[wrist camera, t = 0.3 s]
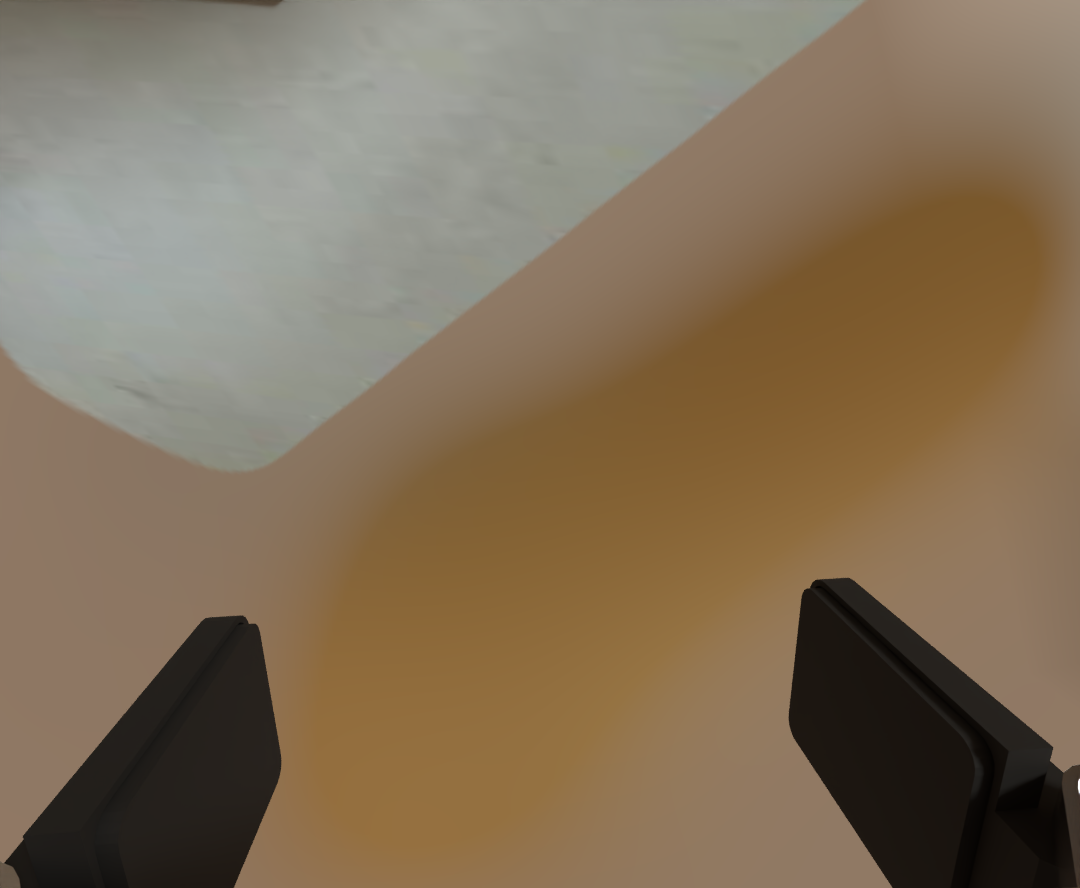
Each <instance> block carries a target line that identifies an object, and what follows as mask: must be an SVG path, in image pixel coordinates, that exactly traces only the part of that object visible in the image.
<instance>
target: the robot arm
mask: <svg viewBox="0 0 1080 888" xmlns="http://www.w3.org/2000/svg"><path fill="white" fill-rule="evenodd" d="M789 725H790V729H791V732H792V735H793V737H794V739H795V740H796V742H797V743H798V745H799V747H800V748H801V750H802V751H803V753H804V754H805V755H806V757H807V759H808V760H809V762H810V763H811V765H812V766H813V768H814V769H815V771H816V772H817V774H818V775H819V777H820V778H821V780H822V781H823V783H824V784H825V786H826V787H827V789H828V790H829V792H830V794H831V795H832V797H833V798H834V800H835V801H836V803H837V804H838V805H839V807H840V809H841V810H842V812H843V813H844V815H845V816H846V818H847V819H848V821H849V822H850V824H851V825H852V827H853V828H854V830H855V831H856V833H857V834H858V836H859V837H860V839H861V841H862V842H863V844H864V845H865V847H866V848H867V849H868V851H869V852H870V854H871V856H872V857H873V859H874V860H875V862H876V863H877V865H878V866H879V868H880V869H881V871H882V872H883V874H884V875H885V877H886V878H887V880H888V881H889V883H890V884H891V886H892V888H1080V765H1075V766H1072V767H1070V768H1069V769H1068V770H1066V771H1065V772H1064V773H1063V772H1062V771H1061V770H1060V769H1058V768H1057V767H1056V766H1055V765H1054V764H1053V763H1052V762H1050V758H1051V755H1052V750H1053V747H1052V746H1051V745H1050V744H1049V743H1047V742H1046V741H1045V740H1044V739H1043V738H1042V737H1040V736H1039V735H1038V734H1037V733H1036V732H1034V731H1033V730H1032V729H1031V728H1030V727H1028V726H1027V725H1026V724H1025V723H1024V722H1022V721H1021V720H1020V719H1019V718H1018V717H1016V716H1015V715H1014V714H1013V713H1012V712H1010V711H1009V710H1008V709H1007V708H1006V707H1004V706H1003V705H1002V704H1001V703H1000V702H998V701H997V700H996V699H995V698H994V697H992V696H991V695H990V694H989V693H987V692H986V691H985V690H984V689H983V688H982V687H980V686H979V685H978V684H977V683H976V682H974V681H973V680H972V679H971V678H970V677H968V676H967V675H966V674H965V673H964V672H962V671H961V670H960V669H959V668H958V667H957V666H955V665H954V664H953V663H952V662H951V661H949V660H948V659H947V658H946V657H945V656H943V655H942V654H941V653H940V652H939V651H937V650H936V649H935V648H934V647H933V646H931V645H930V644H929V643H928V642H927V641H925V640H924V639H923V638H922V637H921V636H919V635H918V634H917V633H916V632H915V631H913V630H912V629H911V628H910V627H908V626H907V625H906V624H905V623H904V622H902V621H901V620H900V619H899V618H898V617H897V616H895V615H894V614H893V613H892V612H891V611H889V610H888V609H887V608H886V607H885V606H883V605H882V604H881V603H880V602H879V601H877V600H876V599H875V598H874V597H873V596H872V595H870V594H869V593H868V592H867V591H865V590H864V589H863V588H862V587H861V586H860V585H858V584H857V583H856V582H855V581H853V580H852V579H850V578H836V579H820V580H815V581H814V582H813V583H812V585H811V587H810V588H809V589H806V590H804V592H803V594H802V599H801V608H800V618H799V626H798V636H797V644H796V654H795V662H794V673H793V681H792V690H791V699H790V708H789ZM280 771H281V754H280V747H279V742H278V735H277V729H276V724H275V718H274V712H273V706H272V700H271V695H270V688H269V683H268V677H267V671H266V665H265V659H264V654H263V647H262V642H261V636H260V631H259V628H258V626H257V625H256V624H249V623H248V621H247V619H246V617H244V616H226V617H212V618H211V617H210V618H205V619H204V620H203V621H202V622H201V623H200V624H199V625H198V626H197V627H196V629H195V630H194V631H193V632H192V633H191V635H190V636H189V637H188V638H187V639H186V641H185V642H184V643H183V644H182V645H181V647H180V648H179V649H178V650H177V652H176V653H175V654H174V655H173V656H172V658H171V659H170V660H169V661H168V662H167V664H166V665H165V666H164V667H163V668H162V670H161V671H160V672H159V673H158V675H157V676H156V677H155V678H154V679H153V680H152V682H151V683H150V684H149V685H148V686H147V688H146V689H145V690H144V691H143V692H142V694H141V695H140V696H139V697H138V698H137V700H136V701H135V702H134V703H133V705H132V706H131V707H130V708H129V709H128V711H127V712H126V713H125V714H124V715H123V716H122V718H121V719H120V720H119V721H118V723H117V724H116V725H115V726H114V727H113V729H112V730H111V731H110V732H109V733H108V735H107V736H106V737H105V738H104V739H103V740H102V742H101V743H100V744H99V746H98V747H97V748H96V749H95V750H94V751H93V753H92V754H91V755H90V756H89V757H88V759H87V760H86V761H85V762H84V763H83V765H82V766H81V767H80V768H79V769H78V771H77V772H76V773H75V774H74V775H73V777H72V778H71V779H70V780H69V781H68V783H67V784H66V785H65V786H64V787H63V789H62V790H61V791H60V792H59V793H58V795H57V796H56V797H55V798H54V800H53V801H52V802H51V803H50V804H49V805H48V807H47V808H46V809H45V810H44V811H43V813H42V814H41V815H40V816H39V817H38V819H37V820H36V821H35V822H34V824H33V825H32V826H31V827H30V828H29V829H28V831H27V832H26V833H25V834H24V835H23V838H24V840H23V841H22V842H21V843H20V845H19V846H18V847H17V848H16V850H15V851H14V852H13V853H12V854H11V856H10V857H9V858H8V859H7V860H6V862H5V863H2V862H0V888H234V886H235V883H236V881H237V879H238V876H239V874H240V871H241V869H242V867H243V864H244V862H245V859H246V857H247V855H248V852H249V850H250V847H251V845H252V843H253V840H254V838H255V835H256V833H257V831H258V828H259V826H260V823H261V821H262V819H263V816H264V814H265V811H266V809H267V806H268V804H269V802H270V799H271V797H272V795H273V792H274V790H275V787H276V785H277V783H278V779H279V776H280Z"/></svg>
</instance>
